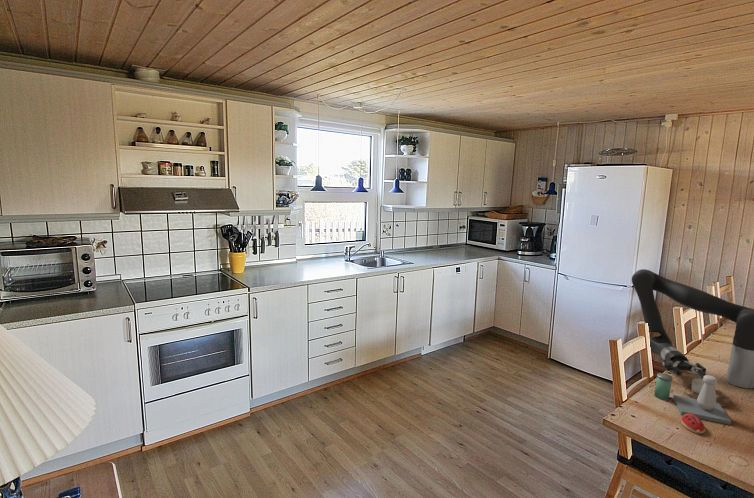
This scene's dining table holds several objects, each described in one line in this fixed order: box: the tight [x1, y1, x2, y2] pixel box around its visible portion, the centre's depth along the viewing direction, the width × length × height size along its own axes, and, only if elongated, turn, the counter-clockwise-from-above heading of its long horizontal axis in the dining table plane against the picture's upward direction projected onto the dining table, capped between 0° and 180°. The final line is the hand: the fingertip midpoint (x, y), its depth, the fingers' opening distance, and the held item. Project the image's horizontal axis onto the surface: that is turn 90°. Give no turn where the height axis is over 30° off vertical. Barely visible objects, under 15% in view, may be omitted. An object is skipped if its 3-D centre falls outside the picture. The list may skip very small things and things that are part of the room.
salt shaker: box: [696, 374, 718, 411], centre depth 158 cm, size 6×6×13 cm
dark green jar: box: [653, 372, 673, 401], centre depth 169 cm, size 5×5×9 cm
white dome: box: [690, 378, 705, 395], centre depth 174 cm, size 7×7×4 cm
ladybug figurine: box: [680, 414, 706, 435], centre depth 150 cm, size 7×10×4 cm
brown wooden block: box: [715, 389, 731, 407], centre depth 166 cm, size 5×5×4 cm
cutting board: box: [672, 394, 732, 426], centre depth 160 cm, size 15×13×2 cm
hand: (692, 375), depth 168 cm, fingers open, 8 cm apart
